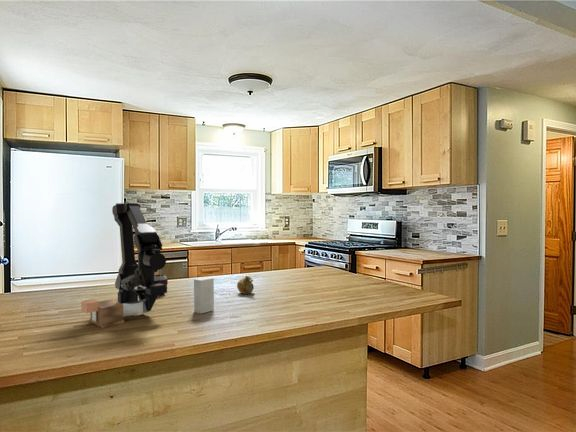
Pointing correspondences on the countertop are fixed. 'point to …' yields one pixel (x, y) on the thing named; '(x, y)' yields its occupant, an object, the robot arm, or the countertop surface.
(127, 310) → the shaft
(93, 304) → the block
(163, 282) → the mate gourd
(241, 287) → the onion
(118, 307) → the block
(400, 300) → the countertop surface
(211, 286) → the skincare box
